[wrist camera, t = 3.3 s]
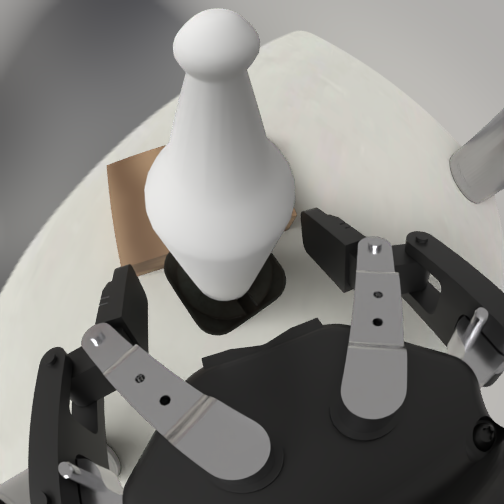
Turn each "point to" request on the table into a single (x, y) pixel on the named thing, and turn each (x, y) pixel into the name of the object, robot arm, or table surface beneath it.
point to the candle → (220, 180)
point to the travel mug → (17, 488)
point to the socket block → (137, 214)
